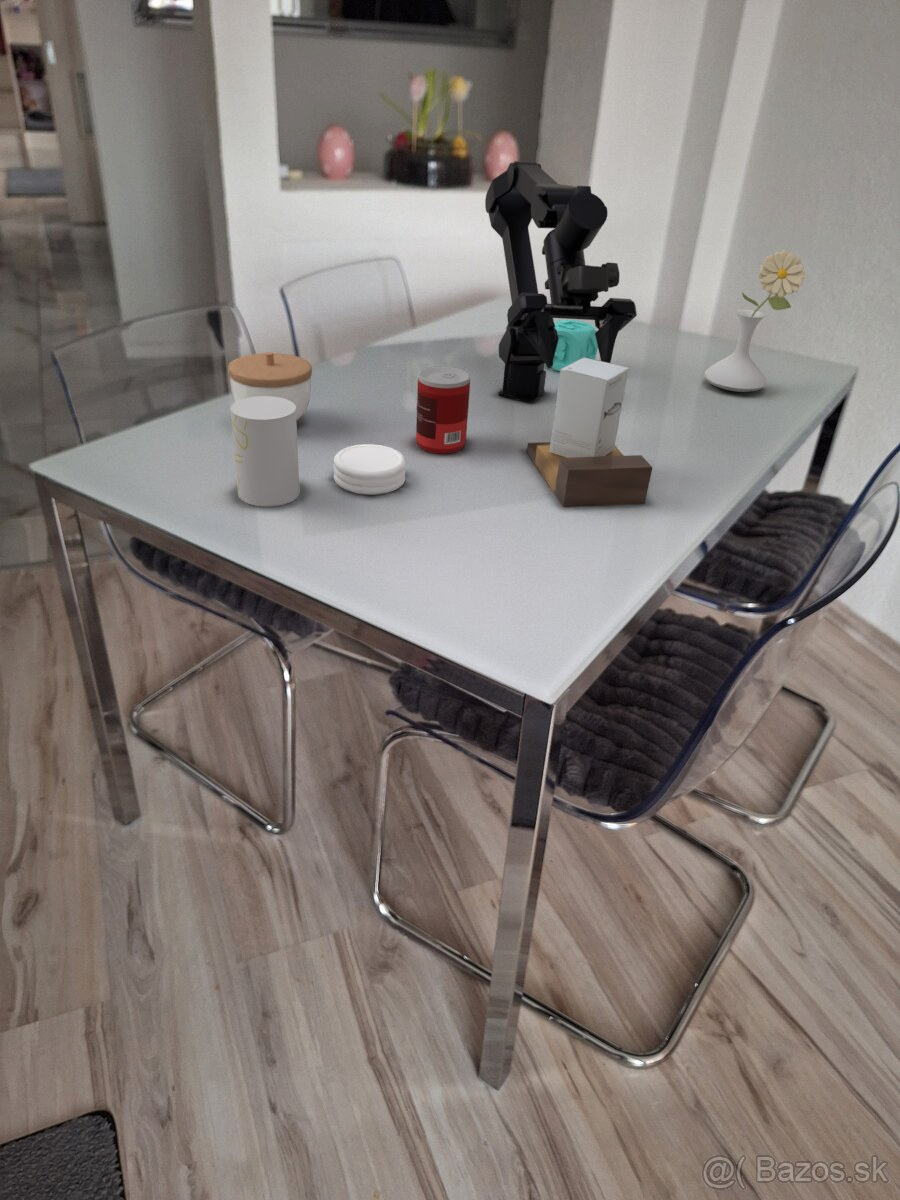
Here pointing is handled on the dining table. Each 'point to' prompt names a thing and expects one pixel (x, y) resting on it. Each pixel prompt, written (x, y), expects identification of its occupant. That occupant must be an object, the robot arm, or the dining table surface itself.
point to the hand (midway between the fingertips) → (579, 367)
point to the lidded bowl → (272, 378)
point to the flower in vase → (738, 367)
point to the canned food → (442, 409)
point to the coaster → (369, 469)
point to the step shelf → (593, 477)
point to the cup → (265, 450)
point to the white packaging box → (588, 408)
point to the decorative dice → (574, 343)
